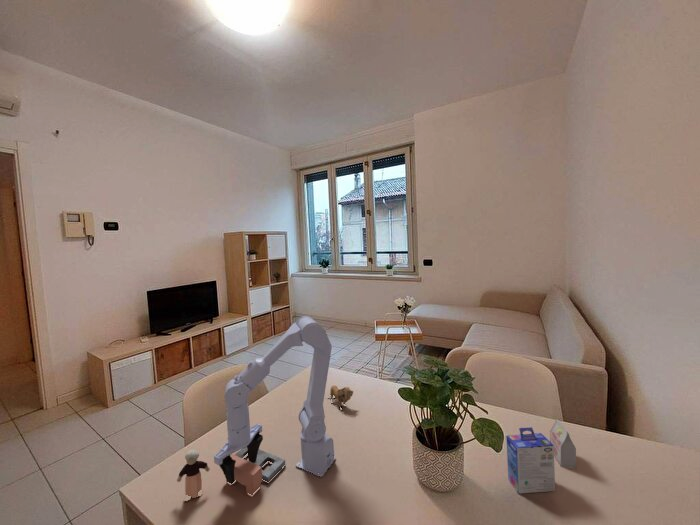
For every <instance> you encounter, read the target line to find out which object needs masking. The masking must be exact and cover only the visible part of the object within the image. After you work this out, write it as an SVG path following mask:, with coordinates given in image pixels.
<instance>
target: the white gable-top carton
mask: <svg viewBox="0 0 700 525" xmlns="http://www.w3.org/2000/svg"><path fill="white" fill-rule="evenodd" d="M549 436H550V437H549V441H550V442H551V443H552V444H553V445H554V459H556V461H557V463H558V464H559V466H560V467H561V468H562V467H563V468H569V469H577V448H576V445H575V444H574V442H573V441H572V439H571V436H570V433H569V432H568V430H566V428H565V426H564V425H563V424H562V423H561V422H560V420H559V419H557V418H556V419H555V421H554V423H553V425H552V428H551V429H550V431H549Z"/></svg>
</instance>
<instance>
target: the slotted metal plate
mask: <svg viewBox="0 0 700 525" xmlns="http://www.w3.org/2000/svg"><path fill="white" fill-rule="evenodd" d="M247 453H248V449H247V446H246V447H244V448H242V449H240V450H238V451H236V452H235V454H234V455H236V456H238V457H240V458H243V457H244V456H245V455H246V454H247ZM247 461H249V459H248V460H247ZM267 461H270V462H272V463H273V464H270V466H269V467H268V468H267V469H266V470H263V469H262V479H263V480H265V481H267V482H269V481H270V480H271V479H272V478H273V477H274V476H275V475H276V474H277V473H278V472H279V471H280V470H281V469H282V467H283V466H284V465H285V466H286V459H283V458H281V457H278V456H276V455H274V454H271V453H268V452H266V451H264V450H261V449H260V448H259V450H258V454H257V459H256V462H255V463H254V464H256V465H258V466H260V467H262V466H263V465H264V464H265V463H266V462H267ZM249 462H250V461H249ZM251 463H252V462H251ZM282 470H283V469H282ZM282 470H281V471H282Z"/></svg>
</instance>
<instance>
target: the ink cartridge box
mask: <svg viewBox="0 0 700 525" xmlns="http://www.w3.org/2000/svg"><path fill="white" fill-rule="evenodd" d="M518 430H519V434H514V435H513V434H512V435H510V434H509V435H506V436H505V437H506V438H505V440H506V454H507V455H506V457H507V478H508V481H509V482H510V484H511V485H512V486H513V488H514V490H515V491H516V492H517V494H530V493H532V494H533V493H545V492H547V493H548V492H555V491H556V478H555V477H556V476H555V475H556V474H555V456H554V445H553V444H552V443H551V442H550V439H548V438H547V437H545V435H543V433H542V432H536V433H535V431H534V429H533V427H532V426H531V427H519V428H518ZM525 432H531V433H525Z"/></svg>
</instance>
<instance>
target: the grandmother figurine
mask: <svg viewBox="0 0 700 525" xmlns="http://www.w3.org/2000/svg"><path fill="white" fill-rule="evenodd" d="M199 457H200V452H199V450H197V449H194V448H193V449H190V450H188V451H187V452H186V454H185V456H184V458H185V459H184V460H186V464H185V465H184V466H183V467H182V469H181V470H180V472H179V474H178V477H177V479H176V481H177V483H180V482H181V481H182V478H183V477H184V476H185V477H184V478H185V480H184V481H185V484H184V486H185V487H184V488H185V490H184V492H185V493H184V494H185V496H186V495H188V496H191V497H192V499H196V498H195V497H197V496H198V492H199V491H200V490H202V489H203V487H202V485H203V484H202V483H203V481H202V480H203V479H202V472H201V470H202V469H203V470H205V472H206V473H207V472H209V471H210V470H211V468H210V466H209V465H208V462H205V461H202V460H198V459H199ZM200 469H201V470H200Z"/></svg>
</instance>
